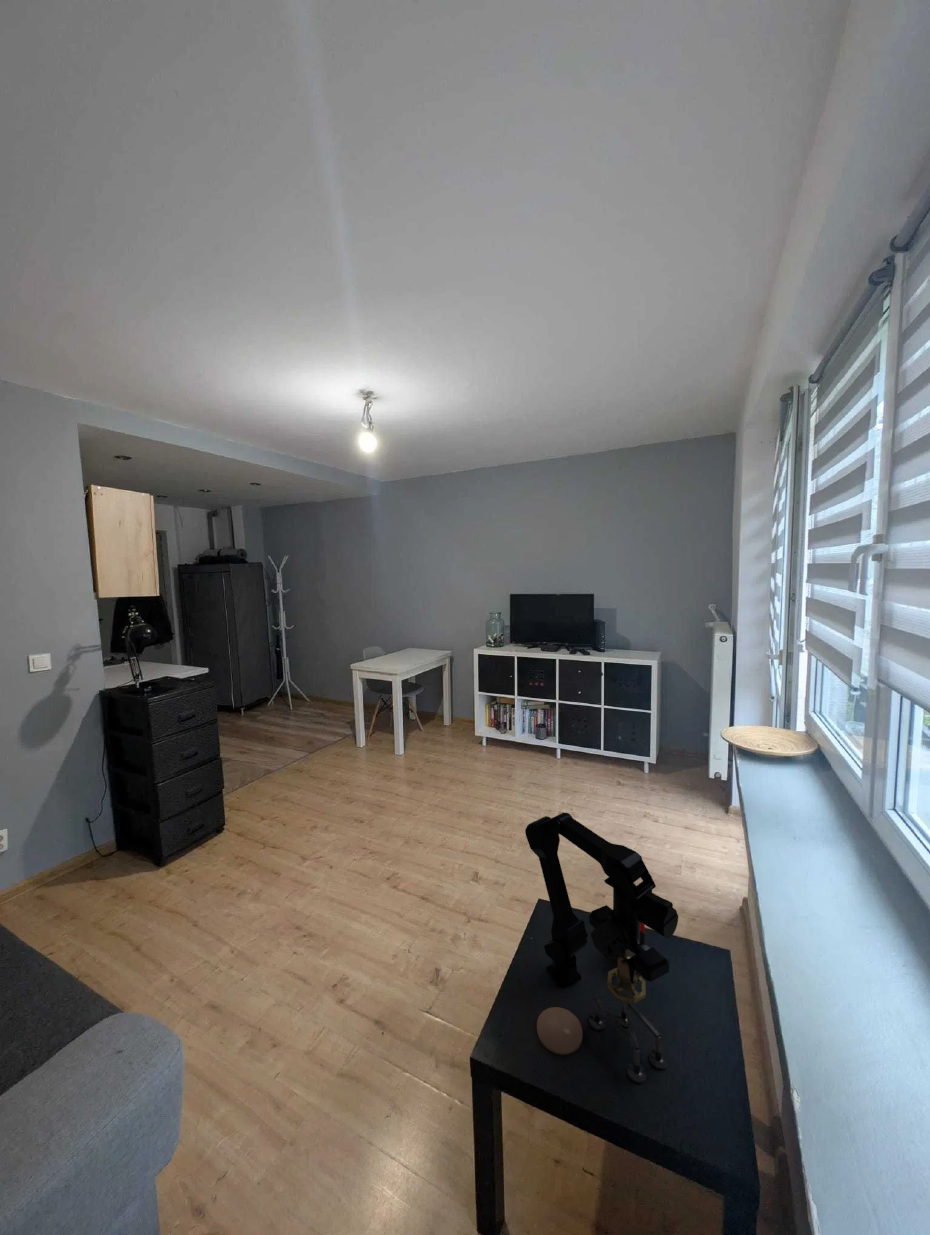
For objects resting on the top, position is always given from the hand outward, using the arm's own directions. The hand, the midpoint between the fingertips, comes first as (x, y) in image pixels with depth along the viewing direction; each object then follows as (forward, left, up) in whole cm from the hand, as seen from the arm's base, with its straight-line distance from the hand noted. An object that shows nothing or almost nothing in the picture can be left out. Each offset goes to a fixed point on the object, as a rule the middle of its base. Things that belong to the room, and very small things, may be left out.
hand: (626, 975), depth 104 cm
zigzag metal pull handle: (+2, -2, -13) cm, 13 cm away
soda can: (-14, +14, -13) cm, 23 cm away
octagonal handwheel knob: (0, 0, -3) cm, 3 cm away
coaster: (-6, -14, -13) cm, 20 cm away
